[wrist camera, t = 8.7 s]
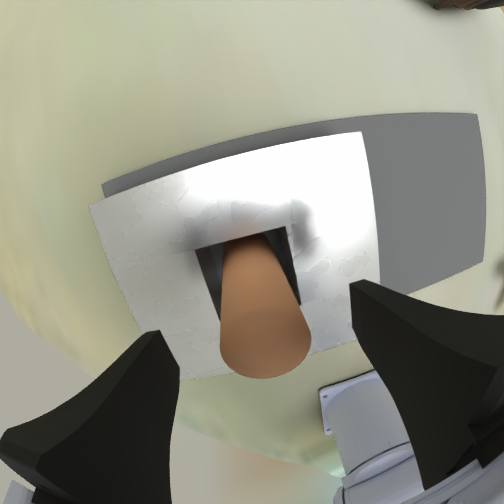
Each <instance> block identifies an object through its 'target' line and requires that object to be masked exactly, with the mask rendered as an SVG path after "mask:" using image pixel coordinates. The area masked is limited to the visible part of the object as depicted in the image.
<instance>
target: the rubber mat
mask: <svg viewBox="0 0 504 504" xmlns="http://www.w3.org/2000/svg"><path fill="white" fill-rule="evenodd" d="M360 131H361V132H362V137H363V142H364V147H365V152H366V157H367V162H368V168H369V174H370V180H371V187H372V194H373V201H374V209H375V218H376V228H377V239H378V252H379V270H380V285H382V286H384V287H386V288H389V289H391V290H394V291H396V292H399V293H401V294H404V295H407V294H410V293H412V292H415V291H417V290H420V289H422V288H425V287H427V286H430V285H432V284H434V283H437V282H439V281H441V280H444V279H446V278H448V277H451V276H453V275H455V274H457V273H459V272H462V271H464V270H466V269H468V268H470V267H472V266H474V265H476V264H478V263H480V262H482V261H483V256H484V245H485V229H486V183H485V168H484V157H483V148H482V140H481V134H480V127H479V122H478V116H477V114H461V113H409V114H389V115H376V116H365V117H355V118H346V119H338V120H331V121H324V122H317V123H311V124H305V125H299V126H294V127H289V128H283V129H278V130H273V131H269V132H264V133H260V134H255V135H251V136H247V137H243V138H239V139H235V140H231V141H227V142H223V143H219V144H216V145H212V146H209V147H205V148H202V149H198V150H195V151H192V152H189V153H185V154H182V155H179V156H176V157H173V158H170V159H167V160H164V161H161V162H158V163H156V164H153V165H150V166H147V167H145V168H142V169H139V170H137V171H134V172H131V173H129V174H126V175H124V176H121V177H119V178H116V179H114V180H112V181H109V182H107V183H104V184H102V189H103V192H104V195H105V198H108V197H110V196H113V195H115V194H118V193H121V192H123V191H126V190H128V189H131V188H134V187H136V186H139V185H142V184H145V183H147V182H150V181H153V180H156V179H159V178H162V177H165V176H168V175H171V174H174V173H177V172H180V171H183V170H186V169H190V168H193V167H196V166H200V165H203V164H206V163H210V162H213V161H217V160H221V159H224V158H228V157H232V156H236V155H240V154H244V153H248V152H252V151H256V150H260V149H264V148H269V147H273V146H278V145H283V144H288V143H293V142H298V141H303V140H308V139H314V138H320V137H326V136H332V135H338V134H345V133H352V132H360ZM262 233H263V234H264V235H265V236H266V237H267V238H268V240H269V242H270V244H271V246H272V248H273V250H274V252H275V255H276V257H277V259H278V261H279V263H280V265H281V268H282V270H283V272H284V274H285V275H289V274H288V270H287V265H286V261H285V256H284V252H283V247H282V243H281V238H280V234H279V229H278V228H275V229H271V230H267V231H263V232H262ZM226 242H227V241H225V242H221V243H217V244H213V245H210V246H209V249H210V252H211V255H212V258H213V261H214V264H215V267H216V270H217V273H218V276H219V279H220V282H221V285H222V279H223V261H224V247H225V244H226Z"/></svg>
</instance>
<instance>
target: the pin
mask: <svg viewBox="0 0 504 504" xmlns="http://www.w3.org/2000/svg"><path fill="white" fill-rule="evenodd" d="M311 340H312V338H311V332H310V329H309V327H308V324H307V322H306V320H305V318H304V316H303V313H302V311H301V309H300V307H299V305H298V302H297V300H296V298H295V296H294V294H293V291H292V289H291V287H290V285H289V283H288V280H287V278H286V276H285V274H284V272H283V270H282V268H281V265H280V263H279V261H278V259H277V257H276V255H275V252H274V250H273V248H272V246H271V244H270V242H269V240H268V238H267V237H266V236H265V235H264V234H263V233H262V232H259V233H255V234H252V235H248V236H244V237H240V238H236V239H232V240H228V241H227V242H226V244H225V247H224V261H223V279H222V299H221V321H220V353H221V356H222V359H223V360H224V362H225V363H226V365H227V366H228V367H229V368H230V369H232V370H233V371H235V372H236V373H238V374H240V375H243V376H246V377H250V378H258V379H265V378H272V377H277V376H280V375H283V374H285V373H287V372H289V371H291V370H292V369H294V368H295V367H297V366H298V365H299V364H300V363H301V362H302V361H303V360H304V359H305V357H306V356H307V354H308V352H309V350H310V347H311Z"/></svg>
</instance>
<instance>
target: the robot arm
mask: <svg viewBox="0 0 504 504" xmlns="http://www.w3.org/2000/svg"><path fill="white" fill-rule="evenodd" d="M349 291H350V303H351V318H352V328H353V331H354V333H355V335H356V337H357V339H358V341H359V344H360V346H361V348H362V349H363V351H364V353H365V354H366V356H367V357H368V359H369V360H370V362H371V364H372V365H373V367H374V368H375V371H372V372H370V373H367V374H364V375H362V376H359V377H356V378H353V379H350V380H347V381H344V382H341V383H338V384H335V385H332V386H329V387H325V388H323V389H321V390H320V391H319V395H320V402H321V410H322V417H323V426H324V433H325V435H331V434H333V435H334V438H335V442H336V445H337V448H338V451H339V454H340V457H341V460H342V464H343V467H344V470H345V473H346V476H345V477H342V478H341V480H342V483H343V486H342V487H340V488H338V490H337V492H336V494H335V496H334V500H333V504H504V315H485V314H477V313H469V312H463V311H457V310H453V309H449V308H444V307H440V306H436V305H433V304H430V303H427V302H424V301H421V300H417V299H415V298H412V297H409V296H407V295H404V294H401V293H399V292H396V291H394V290H391V289H389V288H386V287H384V286H382V285H379V284H377V283H374V282H371V281H369V280H366V279H362V280H359V281H355V282H352V283H349ZM179 384H180V367H179V365H178V363H177V361H176V360H175V358H174V356H173V354H172V352H171V350H170V348H169V347H168V345H167V343H166V341H165V339H164V337H163V335H162V333H161V331H160V330H154V331H149V332H146V333H144V334H143V335H142V336H141V337H139V338H138V339H137V340H136V341H135V342H134V343H133V344H132V345H131V346H130V347H129V348H128V349H127V350H126V351H125V352H124V353H123V354H122V355H121V356H120V357H119V358H118V359H117V360H116V361H115V362H114V363H113V364H112V365H111V366H109V367H108V368H107V369H106V370H105V371H104V372H103V373H102V374H101V375H100V376H99V377H98V378H97V379H95V380H94V381H93V382H92V383H91V384H90V385H88V387H86V388H85V389H83V390H82V391H81V392H79V393H78V394H77V395H75V396H74V397H73V398H71V399H69V400H68V401H66V402H65V403H63V404H62V405H60V406H58V407H57V408H55V409H53V410H52V411H50V412H48V413H46V414H44V415H42V416H40V417H38V418H36V419H34V420H32V421H29V422H26V423H23V424H21V425H18V426H15V427H12V428H9V429H7V430H6V431H5V432H4V434H3V436H2V437H1V439H0V459H1V460H2V461H3V462H4V463H5V464H7V465H8V466H9V467H10V468H11V469H12V470H14V471H15V472H16V473H17V474H19V475H20V476H21V477H23V478H24V479H25V480H26V481H28V482H29V483H30V484H32V485H33V486H35V487H36V489H35V492H33V491H31V490H30V489H28V488H26V487H24V486H23V485H21V484H19V483H17V482H15V481H13V480H12V481H11V483H10V486H9V489H8V491H7V494H6V497H5V499H4V502H3V504H172V500H171V491H170V473H169V472H170V468H169V461H170V440H171V433H172V426H173V422H174V416H175V411H176V405H177V400H178V394H179Z"/></svg>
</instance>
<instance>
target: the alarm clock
mask: <svg viewBox="0 0 504 504" xmlns="http://www.w3.org/2000/svg"><path fill="white" fill-rule="evenodd" d="M450 5H456V6H457V8H464V9H465V10H471V9H474V8H475V9H489V8H494V7H500V6H504V0H443V1H441V2H440V3H439V4H434V7H435V8H436V9H437V10H440V8H441V7H446V6H450Z"/></svg>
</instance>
